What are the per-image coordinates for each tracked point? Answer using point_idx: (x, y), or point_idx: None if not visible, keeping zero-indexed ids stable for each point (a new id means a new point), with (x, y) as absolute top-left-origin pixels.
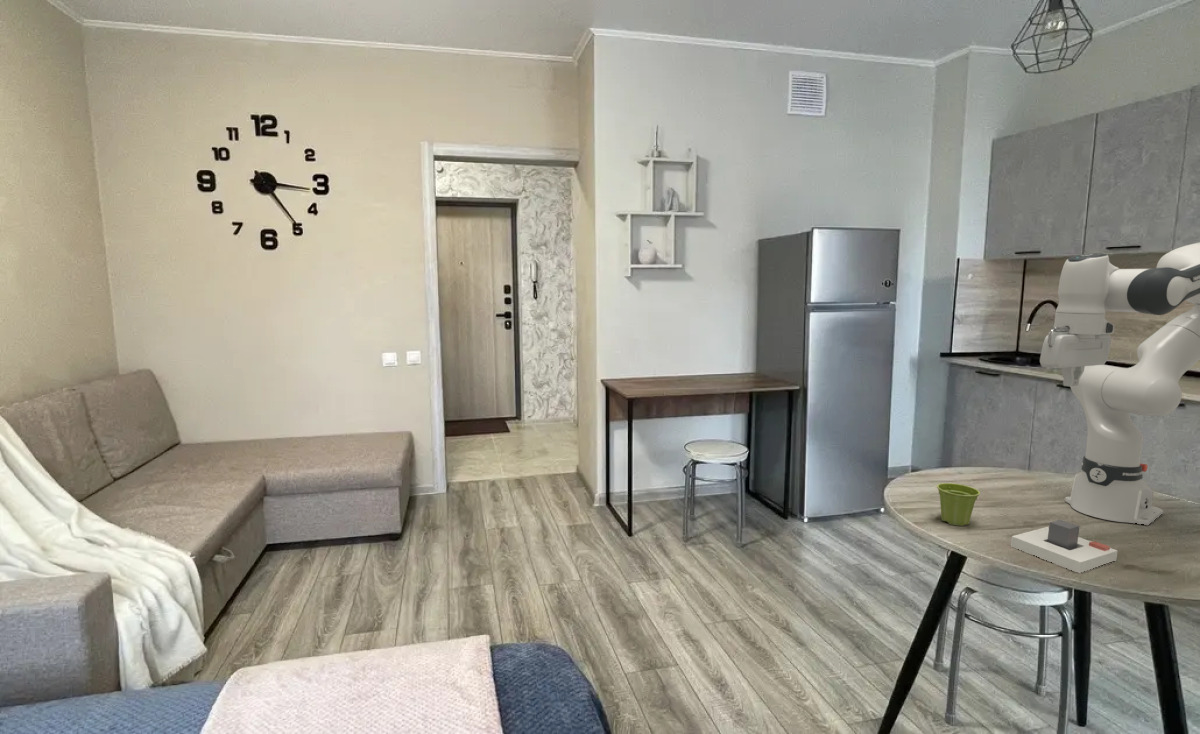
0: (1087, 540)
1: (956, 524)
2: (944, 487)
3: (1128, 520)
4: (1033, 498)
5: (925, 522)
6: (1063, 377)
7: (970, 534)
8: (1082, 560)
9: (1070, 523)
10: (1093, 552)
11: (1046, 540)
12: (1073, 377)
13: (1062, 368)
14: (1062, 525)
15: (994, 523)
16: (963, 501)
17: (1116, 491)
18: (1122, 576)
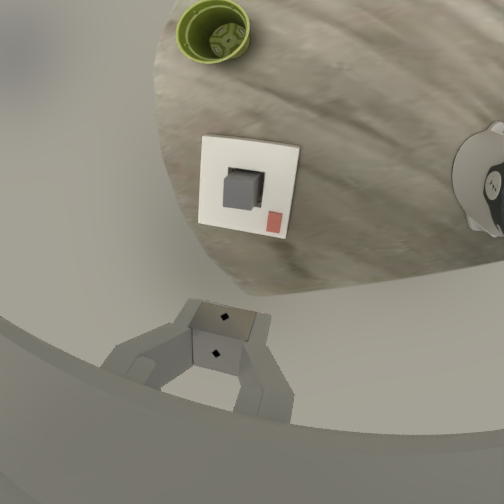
0: (289, 203)
1: (212, 52)
2: (222, 3)
3: (464, 209)
4: (470, 79)
5: None
6: (167, 324)
7: (200, 82)
8: (206, 222)
9: (248, 199)
10: (247, 222)
11: (238, 167)
12: (179, 370)
13: (106, 364)
14: (227, 195)
15: (282, 75)
16: (194, 54)
17: (482, 206)
18: (242, 248)
